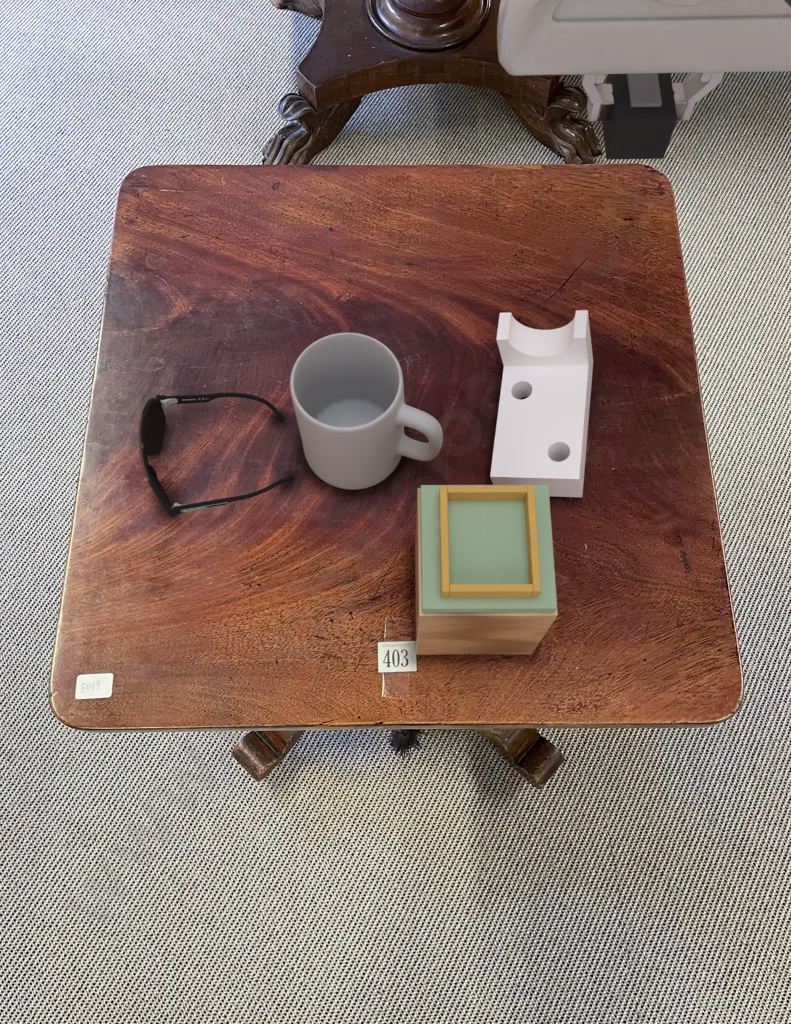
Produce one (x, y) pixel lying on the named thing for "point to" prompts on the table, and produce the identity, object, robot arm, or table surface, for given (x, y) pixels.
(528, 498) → the base pad
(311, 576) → the table surface
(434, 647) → the stand
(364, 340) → the mug
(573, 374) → the bracket
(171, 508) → the sunglasses
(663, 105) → the black block
